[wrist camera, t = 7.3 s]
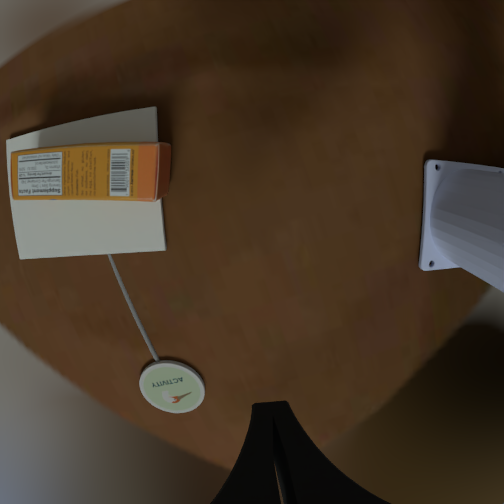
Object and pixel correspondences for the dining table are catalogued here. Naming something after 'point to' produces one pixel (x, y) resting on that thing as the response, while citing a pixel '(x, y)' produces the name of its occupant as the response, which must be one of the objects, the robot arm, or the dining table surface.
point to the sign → (166, 375)
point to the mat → (88, 211)
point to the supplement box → (92, 172)
